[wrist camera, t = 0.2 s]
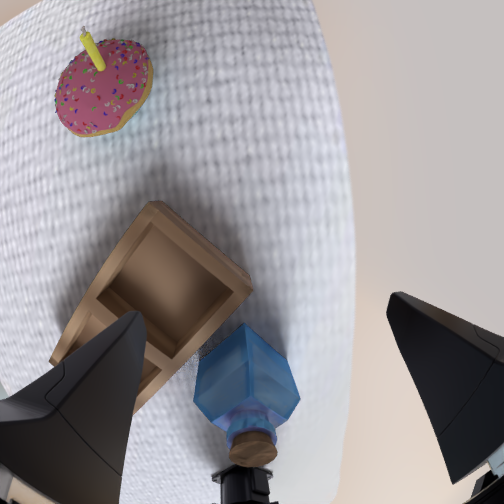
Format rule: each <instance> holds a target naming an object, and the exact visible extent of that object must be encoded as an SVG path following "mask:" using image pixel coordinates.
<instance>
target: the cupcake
mask: <svg viewBox="0 0 504 504" xmlns="http://www.w3.org/2000/svg"><path fill="white" fill-rule="evenodd" d="M81 30H82V32H83V33H82V34H81V36H80V40H81V42H82V43H83V45H84V47H85V49H86V50H84V51H83V52H81V53H80V54H79V55H78V56H75V58H74V60H71V61H72V62H71V61H70V63H69V65H68V66H67V67H66V69H65V70H64V71H63V72H62V73H61V77H60V78H59V83H58V86H57V90H56V93H55V97H56V98H55V103H56V104H55V106H56V112H57V114H58V116H59V119H60V121H61V122H62V124H63V125H64V126H66V127H67V128H68V129H69V130H70V131H71V132H72V133H73V134H75V135H77V136H79V137H93V136H99V135H103V134H107V133H111V132H115V131H118V130H120V129H121V128H122V127H123V126H124V125H125V124H126V123H127V121H128V120H129V119H130V118H132V117H133V116H134V115H135V114H136V113H137V112H138V110H139V109H140V107H141V106H142V105H143V103H144V102H145V100H146V99H147V97H148V95H149V93H150V91H151V88H152V81H153V67H152V64H151V61H150V59H149V57H148V55H147V53H146V50H145V48H144V46H143V45H142V44H141V45H140V44H139V43H136V42H134V41H133V40H131V41H130V40H116V39H114V38H113V39H114V40H113V39H111V40H106V39H105V40H106V41H105V40H104V42H103V41H100V42H99V43H94V41H93V39H92V36H91V34H90V33H89V32H86V30H85V26H83V27H82V29H81ZM56 112H55V113H56Z"/></svg>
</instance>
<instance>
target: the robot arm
mask: <svg viewBox="0 0 504 504" xmlns="http://www.w3.org/2000/svg"><path fill="white" fill-rule="evenodd" d="M386 315H387V318H388V321H389V324H390V326H391V329H392V332H393V334H394V337H395V340H396V343H397V345H398V348H399V350H400V353H401V355H402V357H403V359H404V361H405V363H406V365H407V367H408V370H409V372H410V374H411V376H412V378H413V381H414V383H415V385H416V388H417V390H418V392H419V395H420V397H421V399H422V402H423V404H424V406H425V409H426V411H427V414H428V416H429V419H430V422H431V424H432V427H433V429H434V432H435V435H436V437H437V440H438V443H439V446H440V449H441V452H442V455H443V457H444V461H445V463H446V466H447V470H448V473H449V476H450V479H451V482H452V484H455V483H457V482H459V481H460V480H462V479H463V478H465V477H467V476H468V475H470V474H471V473H473V472H474V471H476V470H477V469H479V468H480V467H482V466H483V465H485V463H488V465H489V467H490V469H491V470H490V471H489V472H487V473H486V474H485V475H483V476H482V477H480V478H479V479H478V480H477V481H476V484H475V487H474V490H473V492H472V495H471V498H470V499H469V500H467V501H466V502H464V503H463V504H504V337H502V336H499V335H497V334H494V333H492V332H490V331H488V330H485V329H483V328H481V327H479V326H476V325H473V324H472V323H470V322H468V321H466V320H464V319H461V318H459V317H457V316H455V315H453V314H451V313H448V312H446V311H444V310H442V309H439V308H437V307H435V306H433V305H431V304H428V303H426V302H424V301H422V300H420V299H417V298H415V297H413V296H411V295H408V294H406V293H404V292H401V291H400V292H394V293H392V294H391V295H390V299H389V303H388V307H387V311H386ZM146 339H147V330H146V326H145V323H144V320H143V316H142V314H141V312H140V311H129V312H127V313H126V314H124V315H123V316H122V317H120V318H119V319H118V320H116V321H115V322H114V323H112V324H111V325H109V326H108V327H107V328H105V329H104V330H103V331H101V332H100V333H99V334H97V335H96V336H95V337H93V338H92V339H91V340H89V341H88V342H87V343H85V344H84V345H83V346H81V347H80V348H79V349H77V350H76V351H75V352H73V353H72V354H71V355H70V356H68V357H67V358H66V359H64V361H62V362H60V363H59V364H58V365H56V366H55V367H54V368H52V369H51V370H50V371H48V372H47V373H46V374H44V375H43V376H41V377H40V378H38V379H37V380H35V381H34V382H32V383H31V384H29V385H27V386H26V387H24V388H23V389H21V390H20V391H18V392H17V393H15V394H14V395H12V396H10V397H9V398H6V399H3V400H0V504H119V497H120V488H121V481H122V477H121V476H122V473H123V466H124V460H125V454H126V448H127V442H128V437H129V431H130V426H131V421H132V416H133V411H134V406H135V402H136V397H137V392H138V388H139V384H140V379H141V375H142V370H143V362H144V354H145V346H146ZM271 478H273V474H271V473H268V472H265V471H262V470H260V469H257V468H254V467H244V466H240V465H237V464H235V465H233V466H232V467H230V468H228V469H227V470H225V471H223V472H221V473H220V474H218V475H216V476H214V477H213V478H212V481H213V482H216V483H218V484H220V485H221V504H279V503H278V501H276V502H271V503H270V502H269V496H268V495H269V494H270V490H269V484H268V480H269V479H271ZM212 504H216V503H212Z"/></svg>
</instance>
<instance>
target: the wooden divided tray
mask: <svg viewBox="0 0 504 504" xmlns="http://www.w3.org/2000/svg"><path fill="white" fill-rule="evenodd" d="M252 292H253V287H252V283H251V279H250V275H248V274H247V273H246V272H245V271H244V270H242V269H241V268H240V267H239V266H238V265H236V264H235V263H234V262H233V261H232V260H230V259H229V258H228V257H227V256H226V255H225V254H223V253H222V252H221V251H220V250H219V249H217V248H216V247H215V246H214V245H213V244H212V243H210V242H209V241H208V240H207V239H206V238H204V237H203V236H202V235H201V234H200V233H199V232H197V231H196V230H195V229H194V228H193V227H192V226H190V225H189V224H188V223H187V222H186V221H185V220H183V219H182V218H181V217H180V216H179V215H178V214H176V213H175V212H174V211H173V210H172V209H171V208H170V207H168V206H167V205H166V204H165V203H164V202H163V201H150V202H148V203H147V204H146V205H145V207H144V208H143V209H142V211H141V212H140V213H139V215H138V216H137V217H136V219H135V220H134V221H133V223H132V224H131V226H130V227H129V228H128V230H127V231H126V232H125V234H124V235H123V237H122V238H121V239H120V241H119V242H118V244H117V245H116V247H115V248H114V250H113V251H112V253H111V254H110V256H109V257H108V258H107V260H106V262H105V263H104V265H103V266H102V268H101V269H100V271H99V272H98V274H97V275H96V277H95V279H94V280H93V282H92V283H91V285H90V287H89V288H88V290H87V292H86V293H85V295H84V297H83V298H82V300H81V302H80V303H79V305H78V307H77V308H76V310H75V312H74V314H73V316H72V317H71V319H70V321H69V323H68V325H67V326H66V328H65V330H64V332H63V334H62V336H61V338H60V340H59V342H58V343H57V345H56V347H55V349H54V351H53V353H52V356H51V358H50V360H49V362H50V363H51V364H52V365H53V366H54V367H55V366H56V365H58V364H59V363H60V362H62V361H64V359H66V358H67V357H68V356H70V355H71V354H72V353H73V352H75V351H76V350H77V349H79V348H80V347H81V346H83V345H84V344H85V343H87V342H88V341H89V340H91V339H92V338H93V337H95V336H96V335H97V334H99V333H100V332H101V331H103V330H104V329H105V328H107V327H108V326H109V325H111V324H112V323H114V322H115V321H116V320H118V319H119V318H120V317H122V316H123V315H124V314H126V313H127V312H129V311H140V312H141V314H142V316H143V320H144V323H145V326H146V330H147V339H146V346H145V354H144V362H143V370H142V375H141V379H140V384H139V388H138V392H137V397H136V402H135V406H134V411H133V415H134V414H135V413H136V412H137V411H138V410H139V409H140V408H141V407H142V406H143V405H144V404H145V403H146V402H147V401H148V400H149V399H150V398H151V397H152V396H153V395H154V394H155V393H156V392H157V391H158V390H159V389H160V388H161V387H162V386H163V385H164V384H165V383H166V382H167V381H168V380H169V379H170V378H171V377H172V376H173V375H174V374H175V373H176V372H177V371H178V370H179V369H180V368H181V367H182V366H183V364H184V363H185V362H186V361H187V360H188V359H189V358H190V357H191V356H192V355H193V354H194V353H195V352H196V351H197V350H198V349H199V348H200V347H201V346H202V345H203V344H204V343H205V342H206V341H207V340H208V338H209V337H210V336H211V335H212V334H213V333H214V332H215V331H216V330H217V329H218V328H219V327H220V326H221V325H222V324H223V323H224V322H225V321H226V319H227V318H228V317H229V316H230V315H231V314H232V313H233V312H234V311H235V310H236V309H237V308H238V307H239V306H240V304H241V303H242V302H243V301H244V300H245V299H246V298H247V297H248V296H249V295H250V294H251V293H252Z"/></svg>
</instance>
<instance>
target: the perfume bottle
mask: <svg viewBox="0 0 504 504" xmlns="http://www.w3.org/2000/svg"><path fill="white" fill-rule="evenodd" d="M300 399H301V398H300V396H299V393H298V390H297V387H296V384H295V381H294V378H293V376H292V373H291V370H290V367H289V364H288V361H287V360H286V359H285V358H284V357H282V356H281V355H280V354H279V353H278V352H277V351H275V350H274V349H273V348H272V347H271V346H270V345H268V344H267V343H266V342H265V341H264V340H263V339H262V338H261V337H259V336H258V335H257V334H256V333H255V332H254V331H253V330H252V329H250V328H249V327H248V326H247V325H246V324H245V323H244V324H243V325H242V326H240V327H239V328H238V329H237V330H236V331H235V332H234V333H232V334H231V335H230V336H229V337H228V338H227V339H225V340H224V341H223V342H222V343H221V344H220V345H218V346H217V347H216V348H215V349H214V350H212V351H211V352H210V353H209V354H208V355H206V356H205V357H204V358H203V359H202V360H200V361H199V366H198V373H197V379H196V386H195V392H194V399H193V402H194V403H195V404H196V405H197V406H198V408H199V409H200V410H201V411H202V412H203V414H204V415H205V416H206V417H207V418H208V419H209V420H210V422H211V423H213V424H214V425H216V426H218V427H219V428H221V429H223V430H224V431H226V432H227V446H228V448H229V449H230V452H229V458H230V459H231V461H232V462H234V463H235V464H237V465H240V466H244V467H258V466H263V465H265V464H268V463H270V462H271V461H273V460H274V459H275V457H276V456H277V450H276V447H275V445H276V442H277V436H276V432H275V428H277V427H278V426H280V425H281V424H283V423H284V422H286V421H287V420H288V419H289V417H290V416H291V414H292V412H293V411H294V409H295V407H296V406H297V404H298V403H299V401H300Z"/></svg>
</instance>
